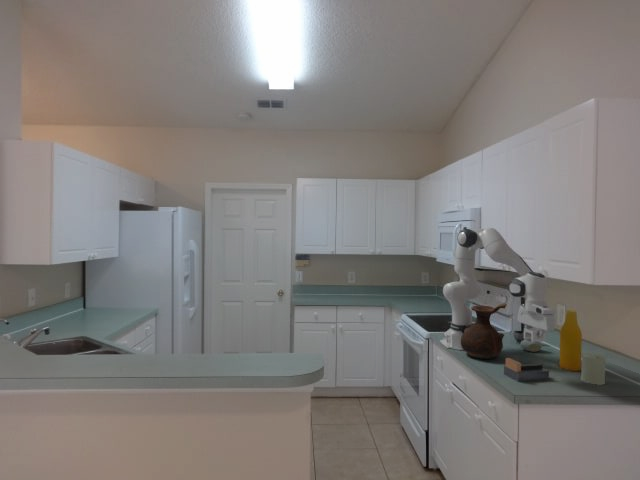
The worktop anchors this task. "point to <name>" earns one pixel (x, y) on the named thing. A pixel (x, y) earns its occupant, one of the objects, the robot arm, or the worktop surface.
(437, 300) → the worktop surface
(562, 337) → the beer bottle
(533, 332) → the notched grey block
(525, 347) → the air freshener
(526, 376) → the base
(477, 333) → the jug
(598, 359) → the can
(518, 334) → the mortar and pestle
